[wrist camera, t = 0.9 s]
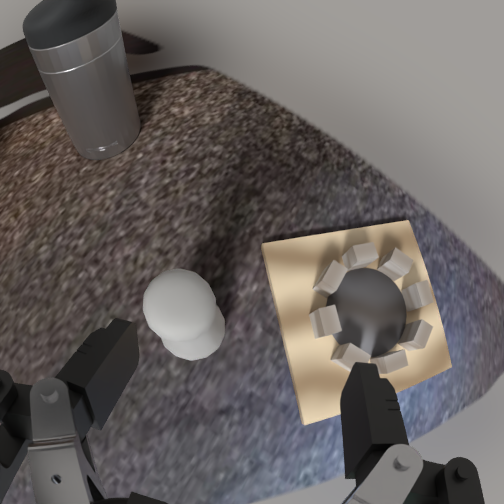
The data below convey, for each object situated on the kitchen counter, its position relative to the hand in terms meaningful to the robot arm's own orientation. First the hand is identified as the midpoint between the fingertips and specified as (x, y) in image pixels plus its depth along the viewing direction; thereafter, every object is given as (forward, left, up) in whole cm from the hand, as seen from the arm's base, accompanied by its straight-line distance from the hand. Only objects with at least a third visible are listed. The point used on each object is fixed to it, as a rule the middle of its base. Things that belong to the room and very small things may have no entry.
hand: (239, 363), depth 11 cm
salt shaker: (-4, -2, -19) cm, 19 cm away
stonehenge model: (-2, +15, -19) cm, 24 cm away
